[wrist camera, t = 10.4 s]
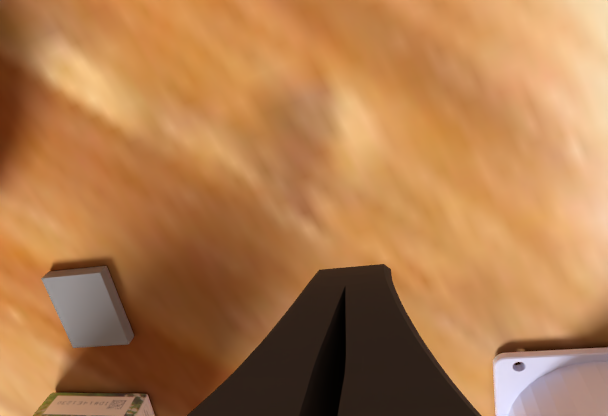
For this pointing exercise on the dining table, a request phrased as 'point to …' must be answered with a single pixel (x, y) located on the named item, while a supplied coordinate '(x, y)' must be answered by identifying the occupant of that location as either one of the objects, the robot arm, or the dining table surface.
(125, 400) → the syrup box
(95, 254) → the dining table surface
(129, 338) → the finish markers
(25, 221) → the dining table surface
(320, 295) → the robot arm
